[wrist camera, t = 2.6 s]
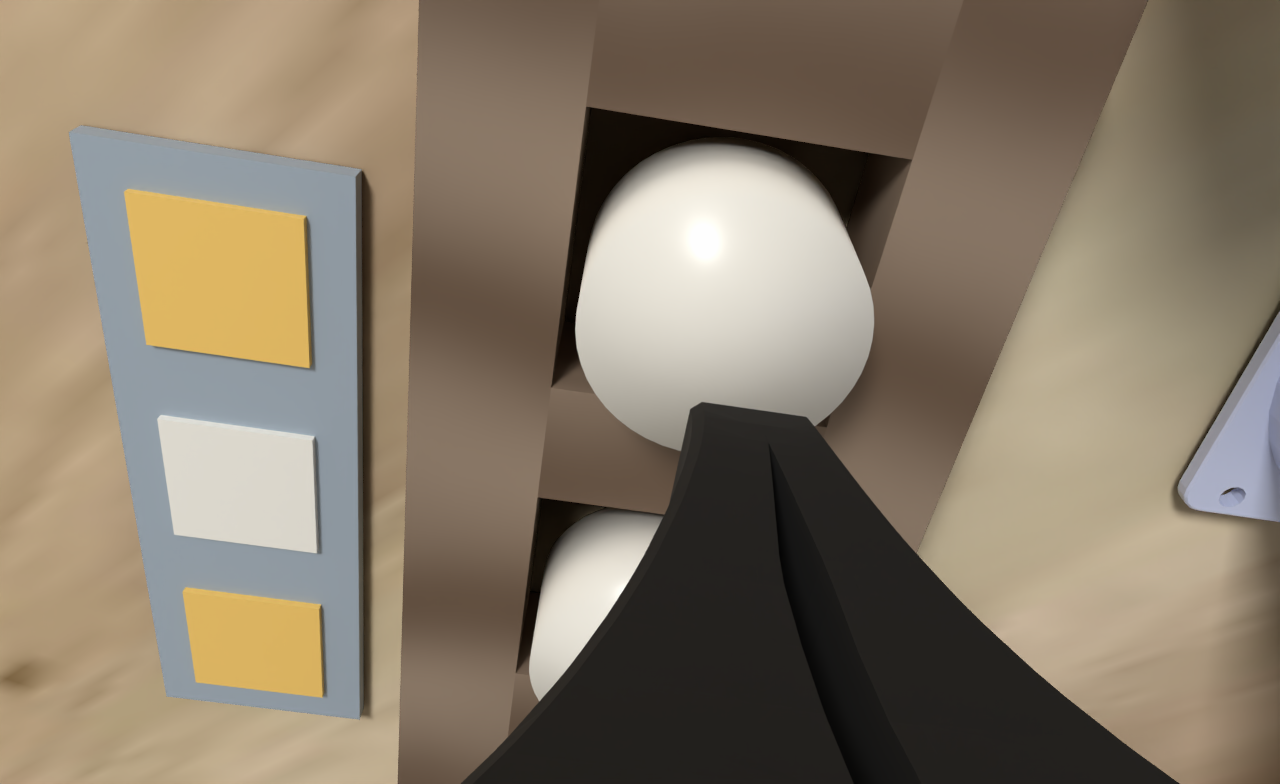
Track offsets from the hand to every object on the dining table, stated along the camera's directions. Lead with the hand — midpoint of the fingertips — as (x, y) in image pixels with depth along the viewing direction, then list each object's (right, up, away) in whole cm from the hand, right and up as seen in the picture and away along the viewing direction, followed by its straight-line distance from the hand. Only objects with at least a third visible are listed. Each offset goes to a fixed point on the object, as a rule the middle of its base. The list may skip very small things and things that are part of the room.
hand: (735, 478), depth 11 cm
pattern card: (-10, -1, +10) cm, 14 cm away
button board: (-1, -2, +11) cm, 11 cm away
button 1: (0, +3, +5) cm, 6 cm away
